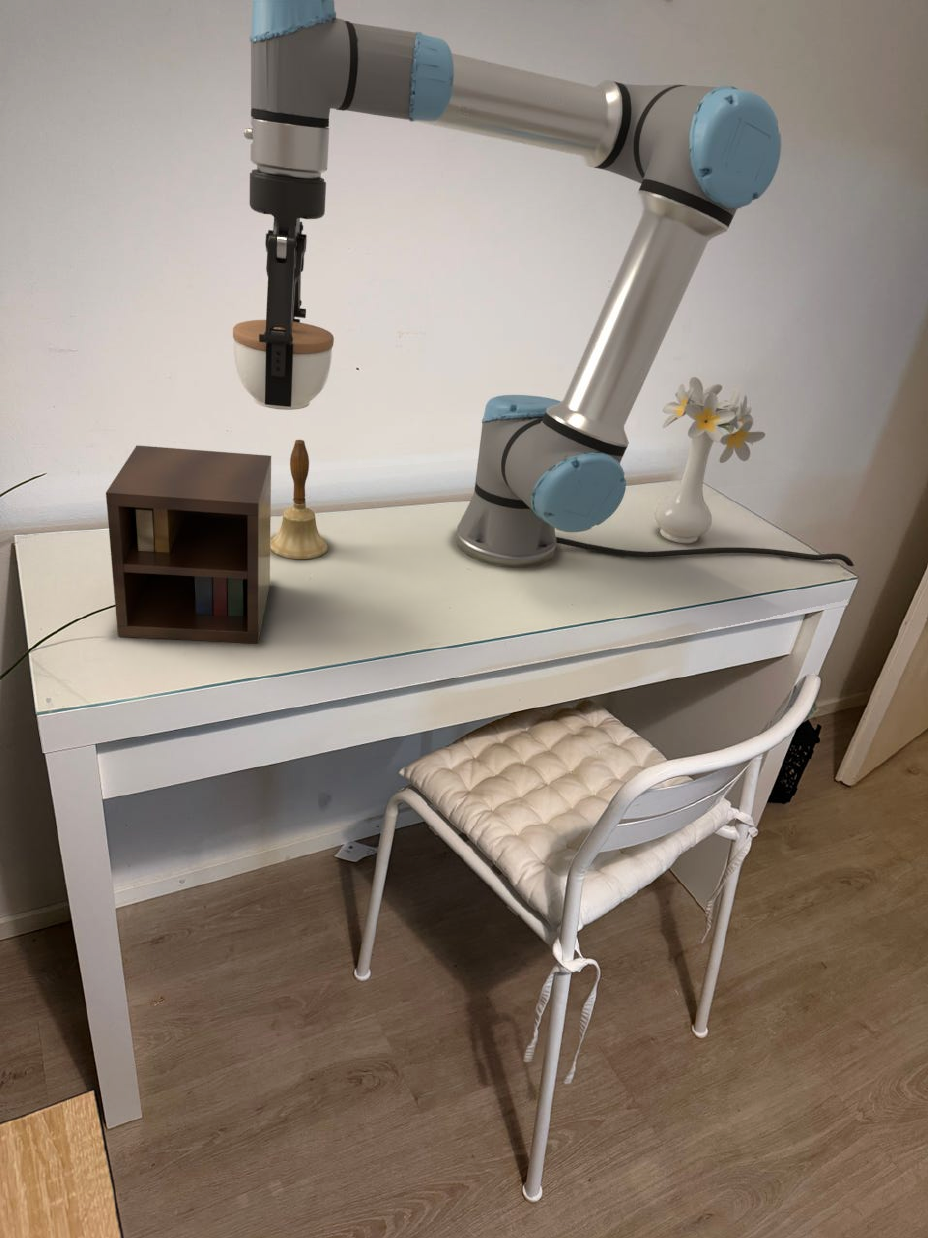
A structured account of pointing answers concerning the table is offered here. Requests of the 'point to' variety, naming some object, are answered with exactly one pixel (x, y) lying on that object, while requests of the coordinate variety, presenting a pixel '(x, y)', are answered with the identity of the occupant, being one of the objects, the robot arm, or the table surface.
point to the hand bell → (299, 516)
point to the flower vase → (702, 455)
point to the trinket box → (307, 361)
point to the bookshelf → (190, 544)
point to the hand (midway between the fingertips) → (282, 389)
